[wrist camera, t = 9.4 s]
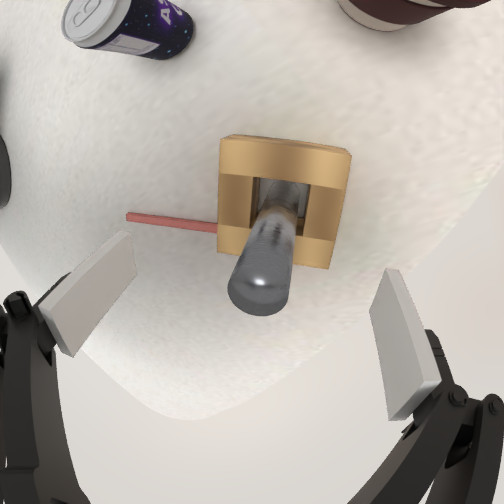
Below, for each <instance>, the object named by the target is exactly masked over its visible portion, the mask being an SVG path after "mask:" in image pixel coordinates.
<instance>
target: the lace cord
mask: <svg viewBox="0 0 504 504" xmlns="http://www.w3.org/2000/svg"><path fill="white" fill-rule="evenodd" d="M126 220H127V221H131V222H138V223H146V224H153V225H161V226H168V227H175V228H182V229H190V230H197V231H204V232H211V233H217V224H216V223H209V222H202V221H194V220H186V219H178V218H170V217H162V216H154V215H146V214H137V213H127V214H126Z"/></svg>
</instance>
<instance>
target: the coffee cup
mask: <svg viewBox="0 0 504 504" xmlns="http://www.w3.org/2000/svg"><path fill="white" fill-rule="evenodd" d="M488 1H490V0H338V2H339V4H340V6H341V7H342V9H343V10H344V11H345V12H346V13H347V14H348V15H349V16H350V17H351V18H353V19H354V20H355V21H357V22H358V23H360V24H362V25H364V26H366V27H369V28H372V29H375V30H380V31H395V30H399V29H402V28H404V27H406V26H408V25H411V24H416V23H419V22H422V21H424V20H426V19H429V18H431V17H433V16H435V15H438V14H440V13H443V12H445V11H448V10H450V9H453V8H472V7H476V6H479V5H481V4H484V3H486V2H488Z"/></svg>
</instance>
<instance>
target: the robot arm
mask: <svg viewBox="0 0 504 504" xmlns="http://www.w3.org/2000/svg"><path fill="white" fill-rule="evenodd" d="M10 189H11V175H10V166H9V160H8V155H7V151H6V148H5V145H4V142H3V140H2V138H1V136H0V209H1V208H2V207H4V206H5V205H6V204H7V202H8V199H9V196H10ZM136 275H137V272H136V266H135V260H134V255H133V248H132V242H131V235H130V232H127V231H120V230H119V231H117V232H116V233H115V234H114V235H113V236H111V237H110V238H109V239H108V240H107V241H106V242H104V243H103V244H102V245H101V246H100V247H99V248H98V249H96V250H95V251H94V252H93V253H92V254H91V255H90V256H89V257H87V258H86V259H85V260H84V261H83V262H82V263H81V264H80V265H79V266H78V267H77V268H76V269H74V270H73V271H72V272H70V273H68V274H66V275H65V276H63V277H61V278H60V279H59V280H58V281H57V282H56V283H55V285H53V286H52V287H51V288H50V290H48V291H47V292H46V293H45V294H44V295H43V296H42V297H41V298H40V299H39V300H38V302H37V303H36V304H35V305H33V307H32V306H31V303H30V301H29V299H28V296H27V294H26V293H25V292H24V291H16V292H13V293H11V294H10V295H9V296H8V297H7V298H6V299H5V300H4V302H3V305H4V307H5V309H6V311H7V313H5V311H4V309H3V307H2V306H1V305H0V349H1V352H0V504H3V501H4V502H5V504H91V503H90V501H89V500H88V498H87V496H86V495H85V494H84V493H83V491H82V490H81V488H80V487H79V484H78V481H77V478H76V475H75V471H74V468H73V464H72V460H71V457H70V452H69V448H68V445H67V439H66V434H65V429H64V424H63V418H62V412H61V405H60V399H59V390H58V380H57V368H56V354H55V350H54V348H53V347H54V346H55V345H56V343H57V345H58V347H59V348H60V350H61V352H62V353H65V354H66V355H69V356H71V357H74V356H75V354H76V353H77V352H78V350H79V349H80V347H81V346H82V345H83V343H84V342H85V340H86V339H87V338H88V336H89V335H90V334H91V332H92V331H93V330H94V328H95V327H96V326H97V324H98V323H99V322H100V320H101V319H102V318H103V316H104V315H105V314H106V313H107V311H108V310H109V309H110V307H111V306H112V305H113V304H114V302H115V301H116V300H117V299H118V297H119V296H120V295H121V294H122V292H123V291H124V290H125V289H126V287H127V286H128V285H129V284H130V282H131V281H132V280H133V279H134V278H135V276H136ZM369 313H370V317H371V321H372V326H373V330H374V335H375V339H376V345H377V350H378V355H379V360H380V366H381V371H382V377H383V383H384V389H385V396H386V403H387V411H388V419H389V421H397V420H406V419H407V417H409V416H410V414H412V413H413V418H414V421H413V422H412V423H411V424H409V425H408V426H407V427H406V428H405V429H404V430H403V431H402V433H404V432H405V433H404V434H403V436H402V437H401V439H400V440H399V442H398V443H397V444H396V446H395V447H394V448H393V450H392V451H391V453H390V454H389V455H388V457H387V458H386V459H385V460H384V462H383V463H382V464H381V466H380V467H379V468H378V469H377V471H376V472H375V473H374V474H373V475H372V477H371V478H370V479H369V480H368V481H367V483H366V484H365V485H364V486H363V487H362V488H361V489H360V490H359V492H358V493H357V494H356V495H355V496H354V497H353V498H352V499H351V500H350V501H349V502H348V503H347V504H418V503H419V502H420V501H421V499H422V497H423V496H424V494H425V493H426V491H427V490H428V488H429V486H430V485H431V483H432V482H433V480H434V482H433V485H432V487H431V490H430V493H429V495H428V498H427V501H426V503H425V504H492V501H493V497H494V493H495V489H496V484H497V479H498V474H499V468H500V462H501V456H502V448H503V438H504V403H503V401H502V399H501V398H500V397H499V396H497V395H496V394H489V395H487V396H486V397H485V398H484V399H483V400H482V401H480V400H476V399H472V398H469V397H468V394H467V393H466V391H465V390H464V389H463V388H462V387H461V386H459V385H456V384H455V383H454V381H453V377H452V374H451V371H450V369H449V365H448V363H447V360H446V357H444V356H445V354H444V352H443V349H442V346H441V344H440V341H439V339H438V337H437V336H436V335H435V334H434V332H433V331H432V330H426V329H424V328H423V325H422V322H421V320H420V317H419V315H418V312H417V310H416V307H415V305H414V303H413V301H412V298H411V296H410V294H409V291H408V289H407V287H406V284H405V282H404V280H403V278H402V276H401V274H400V272H399V270H393V269H386V268H385V271H384V274H383V277H382V279H381V282H380V285H379V287H378V290H377V293H376V295H375V298H374V300H373V303H372V305H371V308H370V310H369ZM6 458H7V467H6V468H5V466H6V465H5V464H6ZM434 478H435V479H434Z"/></svg>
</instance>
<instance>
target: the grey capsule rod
mask: <svg viewBox="0 0 504 504" xmlns="http://www.w3.org/2000/svg"><path fill="white" fill-rule="evenodd" d="M298 205H299V189H298V187H297V186H296V184H295V183H293V182H292V181H285V180H278V181H276V182H275V183H273V185H272V186H271V188H270V190H269V192H268V194H267V197H266V199H265V201H264V203H263V206H262V208H261V210H260V212H259V215H258V217H257V219H256V221H255V223H254V226H253V228H252V230H251V232H250V235H249V237H248V239H247V241H246V244H245V246H244V248H243V251H242V253H241V255H240V257H239V260H238V262H237V264H236V266H235V269H234V271H233V273H232V275H231V278H230V280H229V283H228V295H229V297H230V299H231V301H232V302H233V304H234V305H235V306H236V307H237V308H239V309H240V310H242V311H243V312H245V313H248V314H251V315H255V316H268V315H272V314H275V313H277V312H279V311H280V310H281V309H282V308H283V307H284V306H285V305H286V303H287V300H288V295H289V287H290V279H291V271H292V262H293V254H294V245H295V235H296V225H297V215H298Z"/></svg>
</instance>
